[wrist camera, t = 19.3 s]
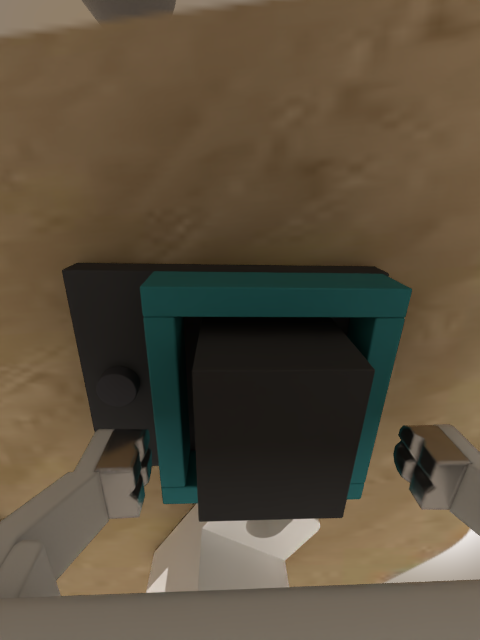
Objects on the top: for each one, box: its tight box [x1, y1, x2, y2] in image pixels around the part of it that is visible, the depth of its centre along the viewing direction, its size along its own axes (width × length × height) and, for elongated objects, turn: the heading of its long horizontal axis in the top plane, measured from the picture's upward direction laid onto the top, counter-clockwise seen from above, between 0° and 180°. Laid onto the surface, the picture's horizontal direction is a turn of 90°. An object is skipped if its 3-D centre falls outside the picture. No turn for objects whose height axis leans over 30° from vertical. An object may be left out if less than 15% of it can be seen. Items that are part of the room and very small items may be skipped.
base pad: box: [62, 263, 412, 504], centre depth 13 cm, size 10×12×3 cm
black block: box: [192, 317, 375, 522], centre depth 11 cm, size 6×5×4 cm
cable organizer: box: [146, 503, 320, 593], centre depth 14 cm, size 5×10×10 cm, turn 146°
